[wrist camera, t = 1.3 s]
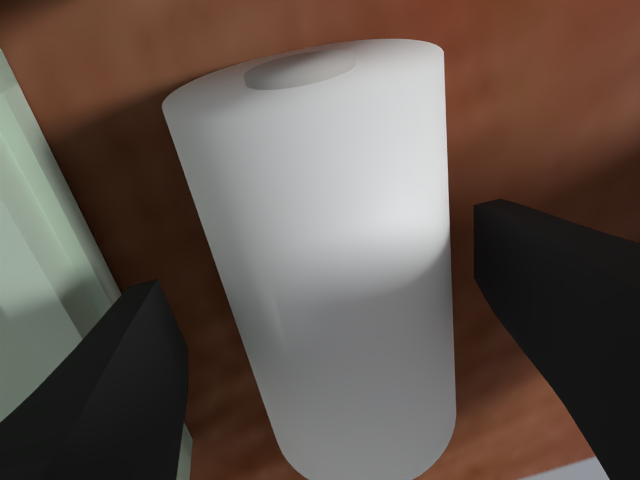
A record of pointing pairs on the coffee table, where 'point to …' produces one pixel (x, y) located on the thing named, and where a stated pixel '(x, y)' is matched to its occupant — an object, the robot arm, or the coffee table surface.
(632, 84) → the coffee table surface
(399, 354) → the roll
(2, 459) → the robot arm
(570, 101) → the coffee table surface
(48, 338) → the holder
